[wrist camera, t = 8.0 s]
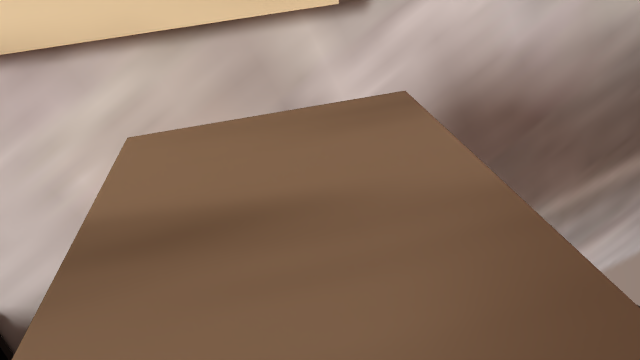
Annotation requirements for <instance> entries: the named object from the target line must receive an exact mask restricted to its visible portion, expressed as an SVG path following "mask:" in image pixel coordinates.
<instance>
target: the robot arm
mask: <svg viewBox="0 0 640 360" xmlns="http://www.w3.org/2000/svg"><path fill="white" fill-rule="evenodd" d="M637 306H638V305H637ZM638 307H639V308H640V306H638ZM13 356H14V355H13V353H12V352H11V350H10V349H9V347H8V346H7V344H6V343H5V341H4V340H3V338H2V337H1V335H0V360H12V358H13Z"/></svg>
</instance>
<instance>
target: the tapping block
mask: <svg viewBox="0 0 640 360" xmlns="http://www.w3.org/2000/svg"><path fill="white" fill-rule="evenodd" d="M12 360H640V308H639V307H638V306H637V305H636V304H635V303H634V302H633V301H632V300H631V299H629V298H628V297H627V296H626V295H625V294H624V293H623V292H622V291H621V290H620V289H619V288H618V287H617V286H616V285H614V284H613V283H612V282H611V281H610V280H609V279H608V278H607V277H606V276H605V275H604V274H603V273H601V272H600V271H599V270H598V269H597V268H596V267H595V266H594V265H593V264H592V263H591V262H590V261H589V260H587V259H586V258H585V257H584V256H583V255H582V254H581V253H580V252H579V251H578V250H577V249H576V248H574V247H573V246H572V245H571V244H570V243H569V242H568V241H567V240H566V239H565V238H564V237H563V236H562V235H560V234H559V233H558V232H557V231H556V230H555V229H554V228H553V227H552V226H551V225H550V224H549V223H548V222H546V221H545V220H544V219H543V218H542V217H541V216H540V215H539V214H538V213H537V212H536V211H535V210H533V209H532V208H531V207H530V206H529V205H528V204H527V203H526V202H525V201H524V200H523V199H522V198H521V197H519V196H518V195H517V194H516V193H515V192H514V191H513V190H512V189H511V188H510V187H509V186H508V185H506V184H505V183H504V182H503V181H502V180H501V179H500V178H499V177H498V176H497V175H496V174H495V173H494V172H492V171H491V170H490V169H489V168H488V167H487V166H486V165H485V164H484V163H483V162H482V161H481V160H480V159H478V158H477V157H476V156H475V155H474V154H473V153H472V152H471V151H470V150H469V149H468V148H467V147H465V146H464V145H463V144H462V143H461V142H460V141H459V140H458V139H457V138H456V137H455V136H454V135H453V134H451V133H450V132H449V131H448V130H447V129H446V128H445V127H444V126H443V125H442V124H441V123H440V122H438V121H437V120H436V119H435V118H434V117H433V116H432V115H431V114H430V113H429V112H428V111H427V110H426V109H424V108H423V107H422V106H421V105H420V104H419V103H418V102H417V101H416V100H415V99H414V98H413V97H412V96H410V95H409V94H408V93H407V92H406V91H400V92H395V93H389V94H383V95H377V96H371V97H365V98H359V99H353V100H347V101H341V102H336V103H330V104H324V105H318V106H312V107H306V108H300V109H294V110H288V111H282V112H277V113H271V114H265V115H259V116H253V117H247V118H241V119H235V120H229V121H223V122H218V123H212V124H206V125H200V126H194V127H188V128H182V129H176V130H170V131H164V132H159V133H153V134H147V135H141V136H135V137H129V138H127V140H126V141H125V143H124V145H123V147H122V149H121V151H120V153H119V155H118V157H117V159H116V161H115V163H114V164H113V166H112V168H111V170H110V172H109V174H108V176H107V178H106V180H105V182H104V184H103V186H102V187H101V189H100V191H99V193H98V195H97V197H96V199H95V201H94V203H93V205H92V207H91V209H90V210H89V212H88V214H87V216H86V218H85V220H84V222H83V224H82V226H81V228H80V230H79V232H78V234H77V235H76V237H75V239H74V241H73V243H72V245H71V247H70V249H69V251H68V253H67V255H66V257H65V258H64V260H63V262H62V264H61V266H60V268H59V270H58V272H57V274H56V276H55V278H54V280H53V281H52V283H51V285H50V287H49V289H48V291H47V293H46V295H45V297H44V299H43V301H42V303H41V304H40V306H39V308H38V310H37V312H36V314H35V316H34V318H33V320H32V322H31V324H30V326H29V327H28V329H27V331H26V333H25V335H24V337H23V339H22V341H21V343H20V345H19V347H18V349H17V350H16V352H15V354H14V356H13V358H12Z"/></svg>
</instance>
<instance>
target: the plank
mask: <svg viewBox="0 0 640 360" xmlns="http://www.w3.org/2000/svg"><path fill="white" fill-rule="evenodd" d="M333 4H339V0H0V55H3V54H9V53H16V52H23V51H29V50H36V49H42V48H49V47H56V46H62V45H69V44H75V43H82V42H89V41H95V40H102V39H108V38H115V37H122V36H128V35H135V34H142V33H148V32H155V31H161V30H168V29H175V28H181V27H188V26H194V25H201V24H208V23H214V22H221V21H227V20H234V19H241V18H247V17H254V16H261V15H267V14H274V13H280V12H287V11H294V10H300V9H307V8H313V7H320V6H327V5H333Z"/></svg>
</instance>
